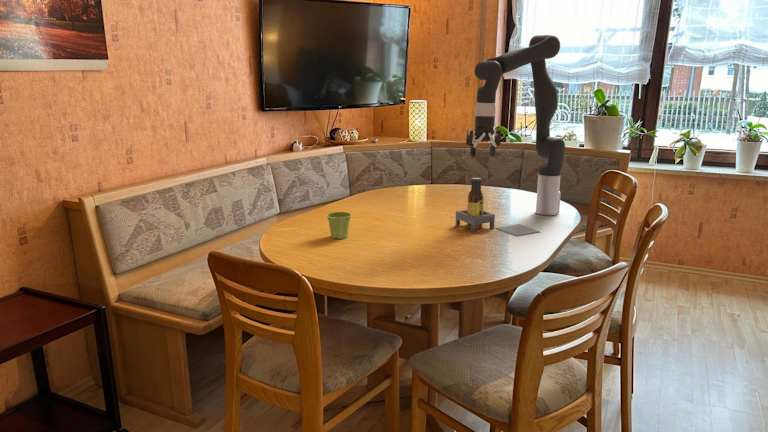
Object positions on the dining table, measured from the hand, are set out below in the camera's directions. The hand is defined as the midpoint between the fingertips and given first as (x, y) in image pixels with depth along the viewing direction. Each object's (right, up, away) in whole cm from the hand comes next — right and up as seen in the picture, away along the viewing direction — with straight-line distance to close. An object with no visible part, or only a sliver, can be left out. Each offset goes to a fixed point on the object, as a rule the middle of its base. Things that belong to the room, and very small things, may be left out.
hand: (482, 156), depth 225 cm
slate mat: (+14, -29, +1) cm, 32 cm away
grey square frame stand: (-2, -28, +6) cm, 28 cm away
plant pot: (-55, -31, -8) cm, 64 cm away
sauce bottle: (-2, -28, +6) cm, 28 cm away
